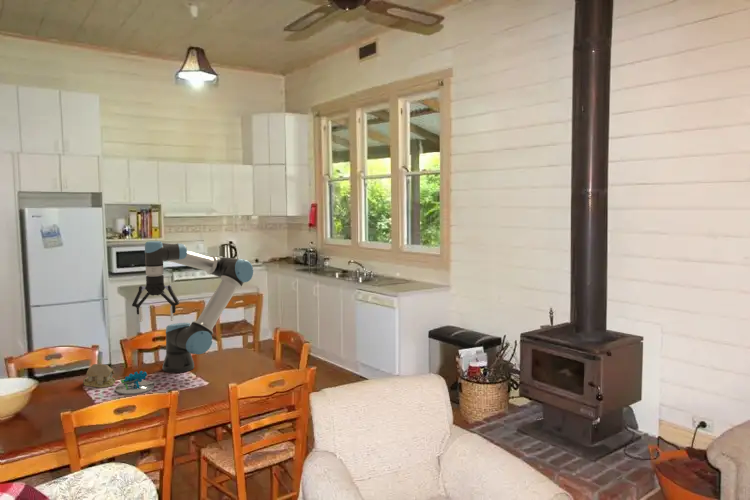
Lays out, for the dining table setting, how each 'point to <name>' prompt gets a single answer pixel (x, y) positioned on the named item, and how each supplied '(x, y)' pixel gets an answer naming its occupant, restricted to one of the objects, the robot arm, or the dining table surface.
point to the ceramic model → (99, 376)
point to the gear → (134, 378)
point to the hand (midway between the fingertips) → (156, 320)
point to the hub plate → (135, 388)
